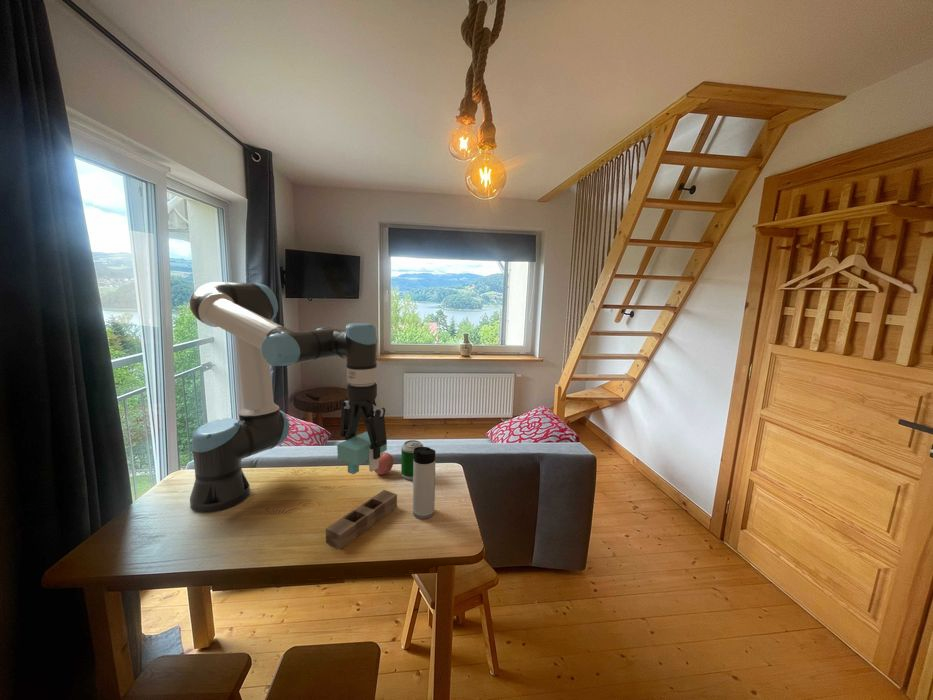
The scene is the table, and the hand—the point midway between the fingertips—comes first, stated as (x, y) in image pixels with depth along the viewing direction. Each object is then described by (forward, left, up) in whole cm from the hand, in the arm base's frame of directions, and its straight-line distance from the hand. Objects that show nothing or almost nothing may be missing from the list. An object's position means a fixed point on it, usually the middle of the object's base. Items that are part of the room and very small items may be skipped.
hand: (363, 465), depth 101 cm
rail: (0, 0, -17) cm, 17 cm away
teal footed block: (0, 0, 0) cm, 0 cm away
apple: (-15, +25, -17) cm, 34 cm away
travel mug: (+11, +13, -17) cm, 24 cm away
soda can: (-5, +29, -17) cm, 34 cm away
